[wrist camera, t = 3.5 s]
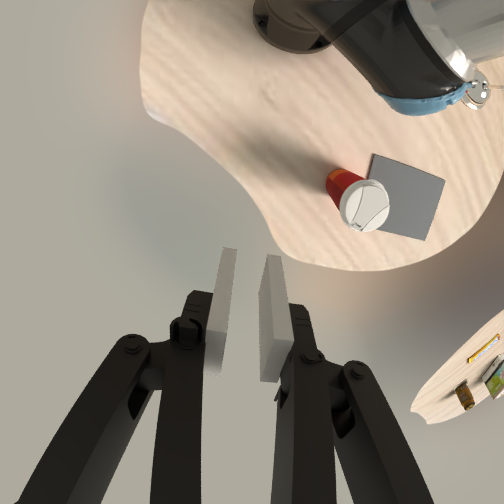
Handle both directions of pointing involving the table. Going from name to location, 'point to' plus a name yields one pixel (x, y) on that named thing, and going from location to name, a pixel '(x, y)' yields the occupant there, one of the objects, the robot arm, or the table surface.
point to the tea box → (495, 377)
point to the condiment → (464, 395)
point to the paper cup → (358, 200)
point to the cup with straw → (478, 91)
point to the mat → (407, 197)
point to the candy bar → (484, 348)
